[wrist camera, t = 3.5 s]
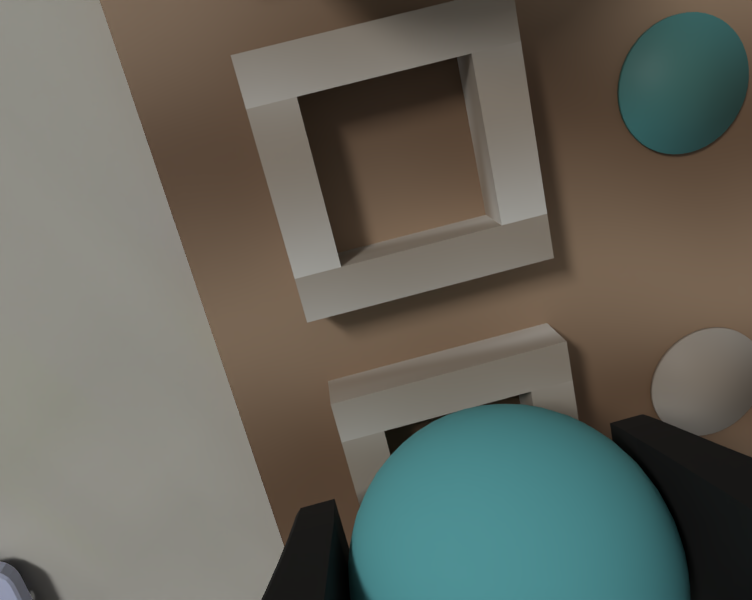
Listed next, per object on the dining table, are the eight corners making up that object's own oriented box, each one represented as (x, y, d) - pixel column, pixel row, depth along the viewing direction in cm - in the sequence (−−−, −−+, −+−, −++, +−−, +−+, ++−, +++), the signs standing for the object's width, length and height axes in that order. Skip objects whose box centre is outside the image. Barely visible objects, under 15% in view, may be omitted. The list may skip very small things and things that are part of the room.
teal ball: (611, 549, 14) (782, 795, 9) (372, 616, 13) (416, 906, 9) (578, 324, 12) (767, 478, 7) (307, 397, 12) (316, 604, 7)
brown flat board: (765, 479, 16) (822, 527, 14) (312, 605, 15) (315, 670, 14) (707, -609, 10) (795, -757, 8) (-40, -452, 9) (-115, -571, 8)
